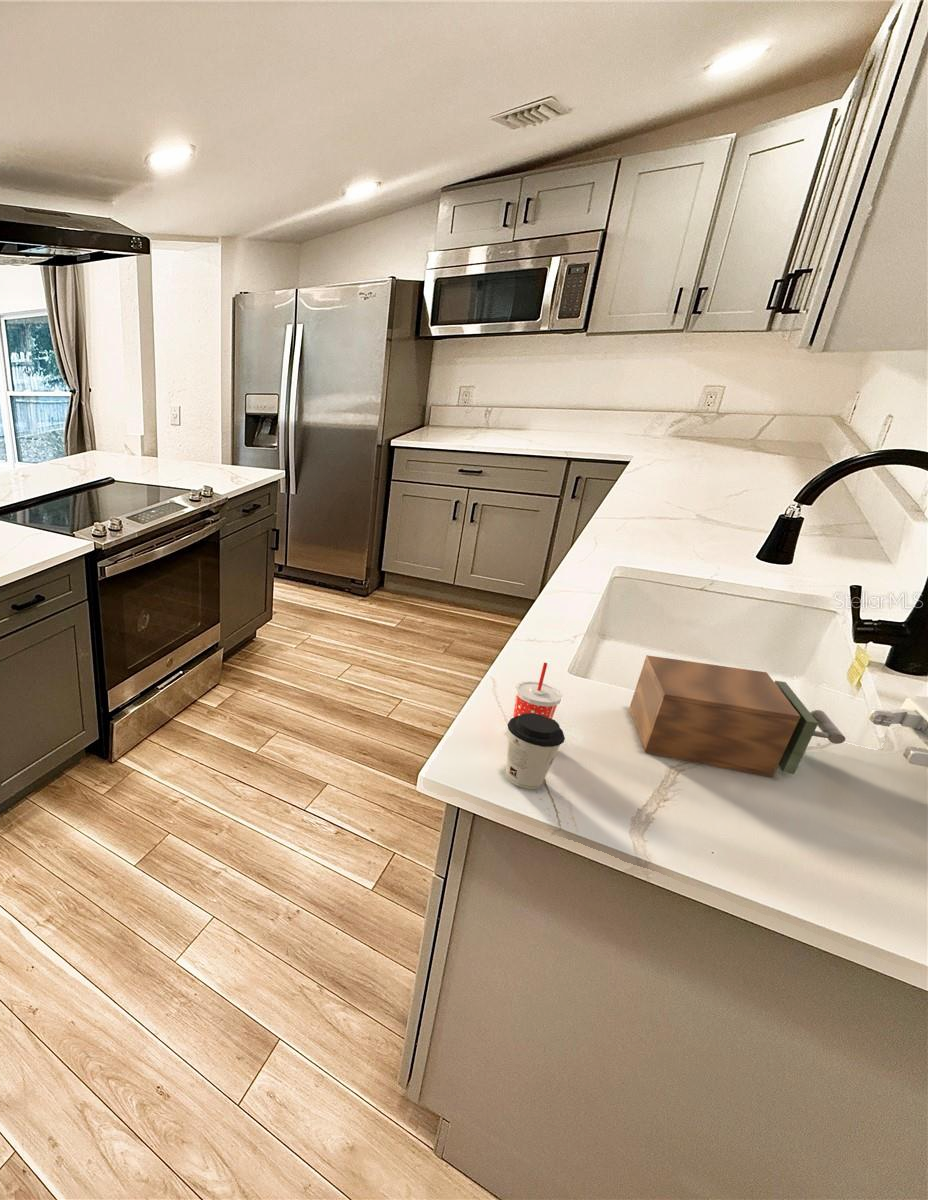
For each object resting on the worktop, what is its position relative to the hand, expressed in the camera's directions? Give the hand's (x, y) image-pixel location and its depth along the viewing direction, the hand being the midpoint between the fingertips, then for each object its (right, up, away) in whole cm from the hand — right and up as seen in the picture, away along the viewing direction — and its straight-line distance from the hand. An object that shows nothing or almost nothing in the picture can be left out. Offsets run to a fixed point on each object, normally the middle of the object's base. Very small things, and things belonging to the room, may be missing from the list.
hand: (888, 734), depth 85 cm
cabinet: (-17, -3, +11) cm, 20 cm away
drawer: (-12, -3, +8) cm, 15 cm away
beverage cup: (-41, -4, +14) cm, 44 cm away
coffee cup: (-47, -8, +6) cm, 48 cm away
